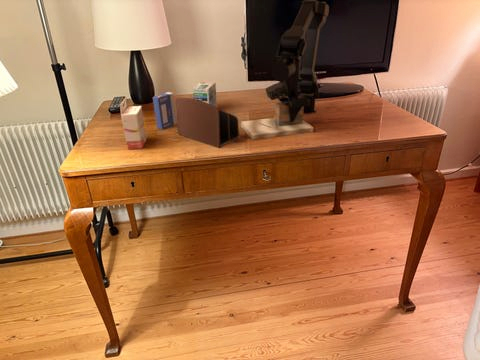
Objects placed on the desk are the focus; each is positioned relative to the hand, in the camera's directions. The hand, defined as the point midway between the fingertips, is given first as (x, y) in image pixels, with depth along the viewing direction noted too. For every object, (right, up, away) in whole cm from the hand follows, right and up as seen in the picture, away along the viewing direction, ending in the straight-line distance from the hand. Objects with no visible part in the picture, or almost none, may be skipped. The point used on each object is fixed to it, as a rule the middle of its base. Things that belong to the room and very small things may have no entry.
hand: (289, 119), depth 123 cm
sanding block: (0, -1, +1) cm, 1 cm away
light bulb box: (-31, +7, +20) cm, 38 cm away
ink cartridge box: (-51, -10, -9) cm, 53 cm away
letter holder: (-29, -7, -4) cm, 30 cm away
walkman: (-45, -2, +6) cm, 45 cm away
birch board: (-5, -3, 0) cm, 6 cm away
